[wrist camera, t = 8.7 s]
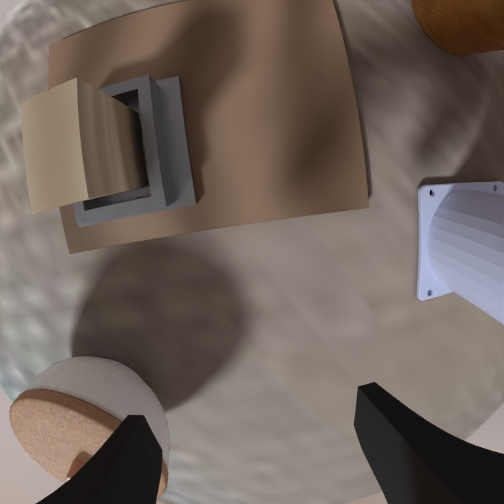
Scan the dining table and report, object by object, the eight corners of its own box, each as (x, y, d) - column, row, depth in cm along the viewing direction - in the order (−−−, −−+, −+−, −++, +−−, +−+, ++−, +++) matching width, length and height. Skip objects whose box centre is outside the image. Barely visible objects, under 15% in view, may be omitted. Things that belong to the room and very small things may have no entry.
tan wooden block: (138, 112, 14) (76, 77, 7) (148, 186, 15) (88, 198, 8) (98, 124, 14) (21, 102, 7) (108, 195, 15) (32, 214, 8)
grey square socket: (180, 79, 14) (171, 63, 11) (197, 203, 16) (191, 209, 13) (68, 111, 14) (45, 104, 11) (83, 225, 16) (61, 235, 13)
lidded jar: (39, 324, 18) (-31, 396, 9) (169, 333, 19) (134, 443, 10) (78, 424, 21) (44, 498, 12) (189, 438, 21) (179, 531, 12)
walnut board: (326, -2, 13) (330, -7, 13) (363, 206, 17) (368, 207, 16) (55, 49, 13) (49, 45, 12) (75, 250, 17) (69, 253, 16)
